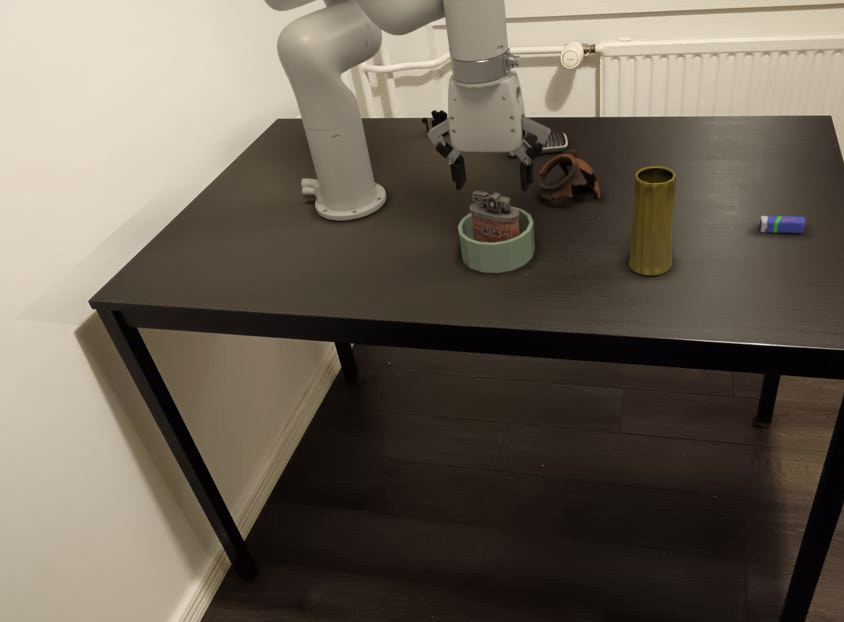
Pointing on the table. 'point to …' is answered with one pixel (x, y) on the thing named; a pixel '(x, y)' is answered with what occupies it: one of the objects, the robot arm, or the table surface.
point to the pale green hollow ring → (497, 247)
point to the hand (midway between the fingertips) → (493, 186)
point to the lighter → (493, 218)
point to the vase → (652, 221)
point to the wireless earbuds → (436, 119)
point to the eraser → (782, 224)
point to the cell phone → (549, 143)
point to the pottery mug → (567, 176)
